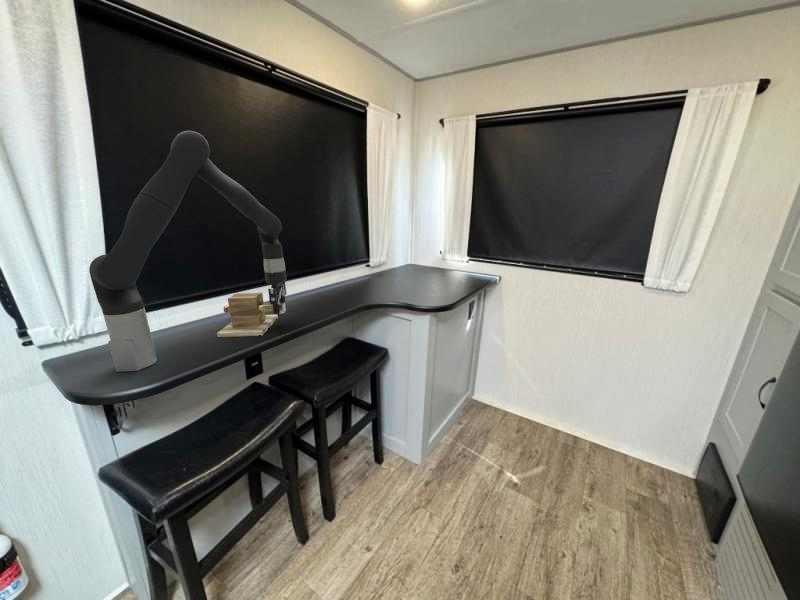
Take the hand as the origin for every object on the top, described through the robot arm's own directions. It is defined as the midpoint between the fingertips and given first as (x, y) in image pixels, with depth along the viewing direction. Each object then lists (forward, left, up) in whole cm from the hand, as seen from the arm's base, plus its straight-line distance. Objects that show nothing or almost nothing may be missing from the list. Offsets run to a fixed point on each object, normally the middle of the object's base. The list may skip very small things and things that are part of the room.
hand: (280, 309), depth 126 cm
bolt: (0, +10, -1) cm, 10 cm away
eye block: (0, +12, -7) cm, 14 cm away
